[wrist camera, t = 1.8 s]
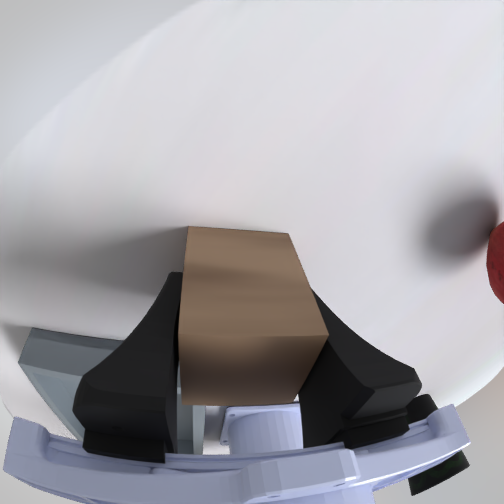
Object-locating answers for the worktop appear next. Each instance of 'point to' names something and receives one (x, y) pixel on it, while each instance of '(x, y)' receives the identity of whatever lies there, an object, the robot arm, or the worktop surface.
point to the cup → (447, 468)
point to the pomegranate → (496, 261)
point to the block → (245, 319)
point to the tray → (80, 362)
